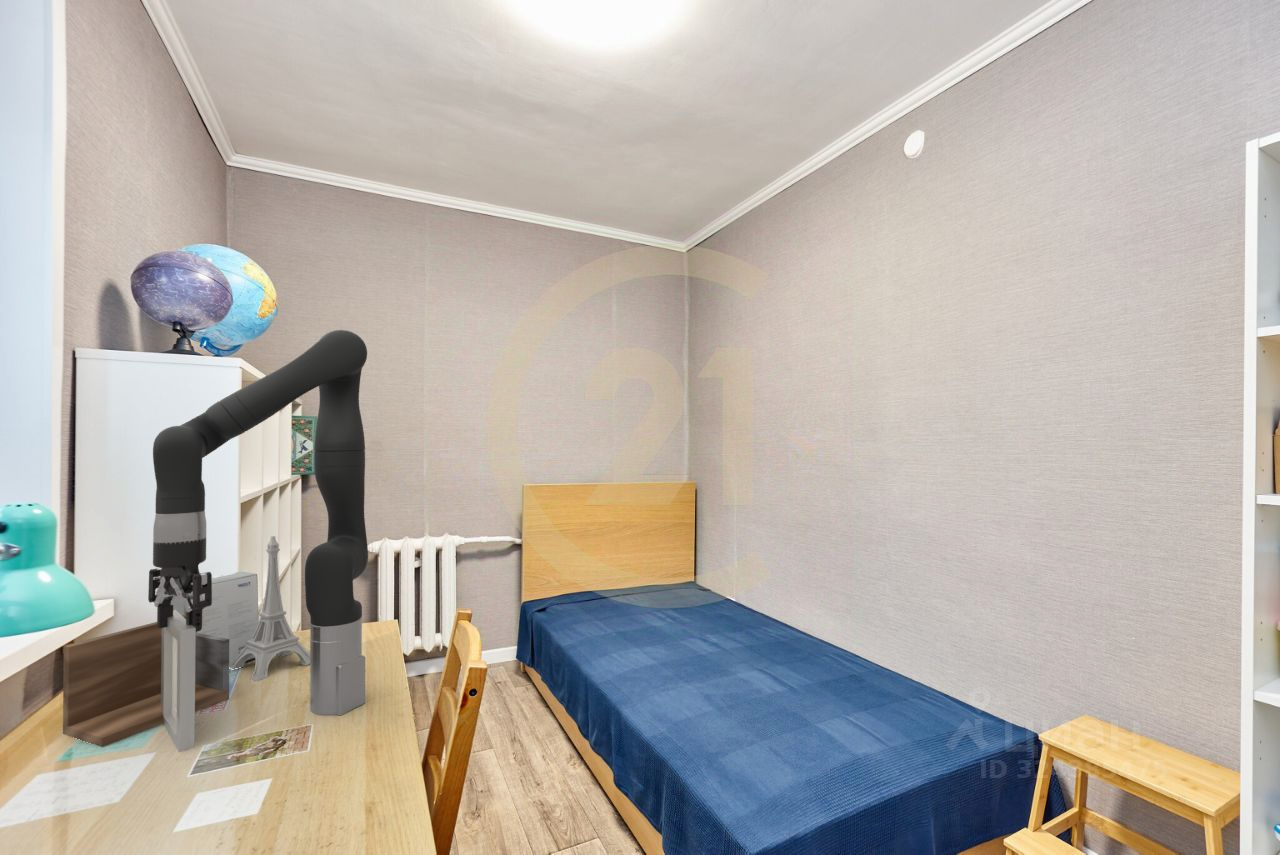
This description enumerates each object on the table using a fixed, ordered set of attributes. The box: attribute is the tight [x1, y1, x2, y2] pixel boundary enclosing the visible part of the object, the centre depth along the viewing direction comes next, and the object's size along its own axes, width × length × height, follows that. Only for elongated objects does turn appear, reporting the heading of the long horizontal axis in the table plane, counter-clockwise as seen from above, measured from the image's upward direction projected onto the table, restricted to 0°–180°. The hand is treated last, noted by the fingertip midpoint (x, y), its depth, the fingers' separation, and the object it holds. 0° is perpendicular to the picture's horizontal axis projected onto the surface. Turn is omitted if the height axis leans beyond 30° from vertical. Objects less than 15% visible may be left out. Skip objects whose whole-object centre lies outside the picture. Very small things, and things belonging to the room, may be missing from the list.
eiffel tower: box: [229, 535, 310, 682], centre depth 137 cm, size 13×13×30 cm
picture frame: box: [161, 610, 196, 753], centre depth 106 cm, size 16×3×21 cm, turn 48°
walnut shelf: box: [62, 614, 230, 748], centre depth 112 cm, size 12×21×16 cm, turn 158°
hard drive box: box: [170, 571, 260, 666], centre depth 136 cm, size 16×8×20 cm, turn 150°
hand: (179, 629), depth 105 cm, fingers open, 8 cm apart
